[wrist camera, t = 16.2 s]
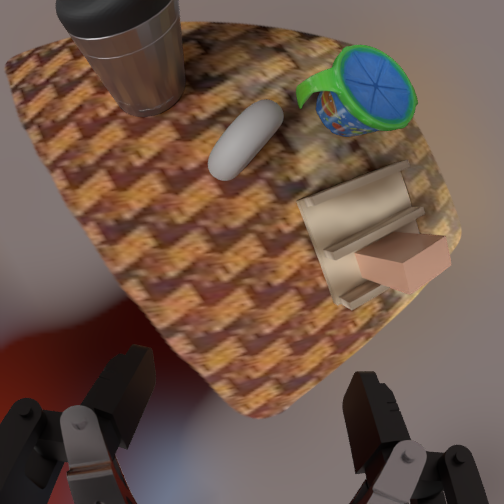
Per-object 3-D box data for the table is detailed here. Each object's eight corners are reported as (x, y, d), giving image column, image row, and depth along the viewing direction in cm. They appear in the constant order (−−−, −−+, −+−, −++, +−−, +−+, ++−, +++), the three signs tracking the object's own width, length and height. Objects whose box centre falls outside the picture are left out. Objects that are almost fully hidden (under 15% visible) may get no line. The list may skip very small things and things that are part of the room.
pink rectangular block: (354, 253, 35) (402, 263, 25) (394, 231, 35) (445, 235, 26) (362, 277, 35) (409, 294, 25) (400, 255, 36) (451, 264, 26)
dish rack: (296, 201, 34) (308, 198, 30) (392, 163, 36) (410, 158, 32) (333, 303, 36) (348, 312, 32) (419, 253, 38) (438, 256, 34)
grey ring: (255, 114, 32) (273, 77, 22) (276, 132, 33) (303, 100, 23) (201, 174, 32) (199, 153, 22) (223, 192, 33) (231, 179, 23)
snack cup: (381, 90, 35) (422, 64, 25) (390, 155, 36) (438, 140, 26) (282, 71, 32) (307, 29, 22) (286, 143, 33) (316, 115, 23)
